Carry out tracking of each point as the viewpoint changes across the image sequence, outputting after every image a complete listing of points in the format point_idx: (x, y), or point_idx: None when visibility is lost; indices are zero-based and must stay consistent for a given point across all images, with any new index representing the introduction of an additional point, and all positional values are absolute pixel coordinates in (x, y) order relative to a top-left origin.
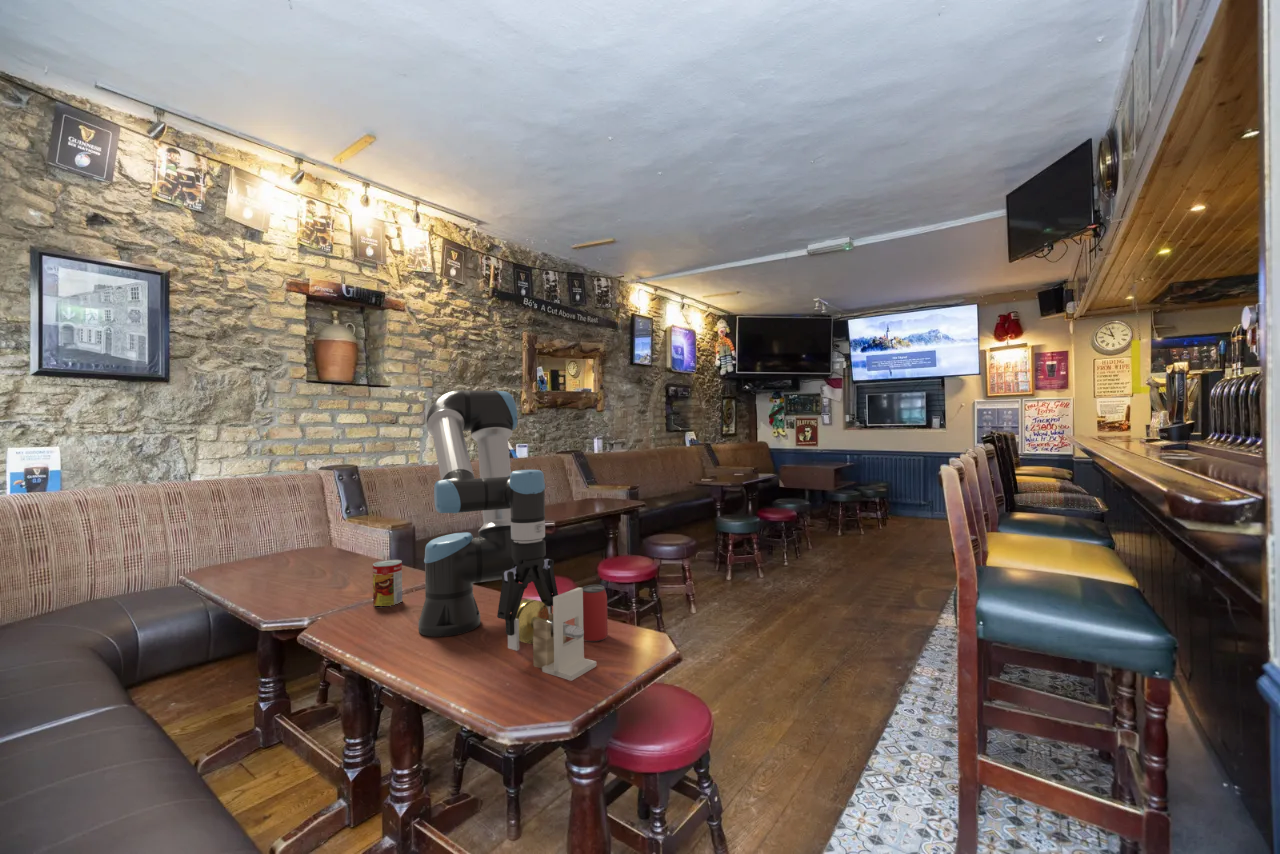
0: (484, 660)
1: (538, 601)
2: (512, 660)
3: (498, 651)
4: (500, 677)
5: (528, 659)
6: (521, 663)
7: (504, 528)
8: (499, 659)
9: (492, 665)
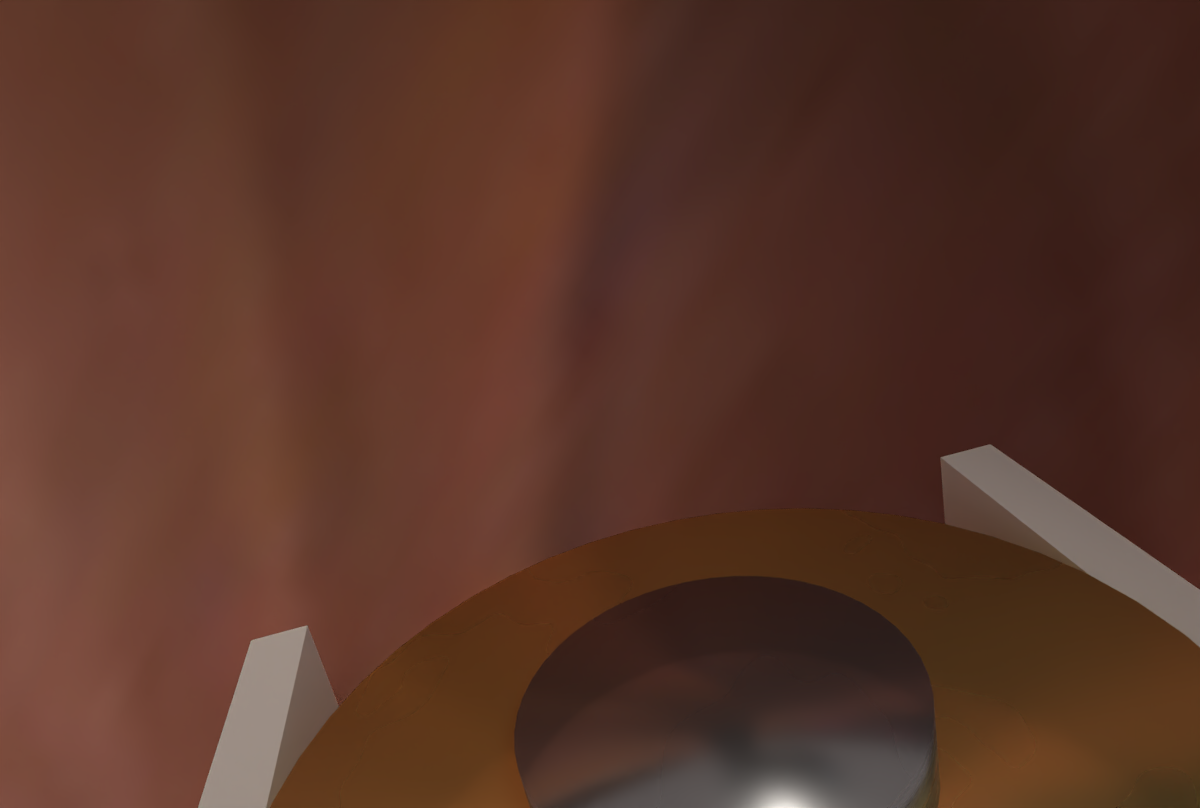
0: (62, 167)
1: None
2: (393, 445)
3: (388, 4)
4: (61, 755)
5: (557, 546)
6: (434, 589)
7: None
8: (267, 296)
9: (102, 408)
